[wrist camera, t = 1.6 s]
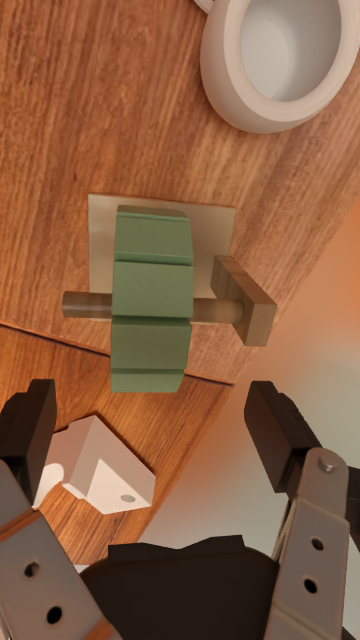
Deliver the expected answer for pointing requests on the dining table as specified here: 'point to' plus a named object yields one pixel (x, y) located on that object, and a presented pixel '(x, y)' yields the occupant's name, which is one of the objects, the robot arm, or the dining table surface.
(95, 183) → the dining table surface
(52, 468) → the bracket
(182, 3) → the dining table surface
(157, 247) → the green grooved wheel
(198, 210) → the peg stand with base
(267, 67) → the mug
